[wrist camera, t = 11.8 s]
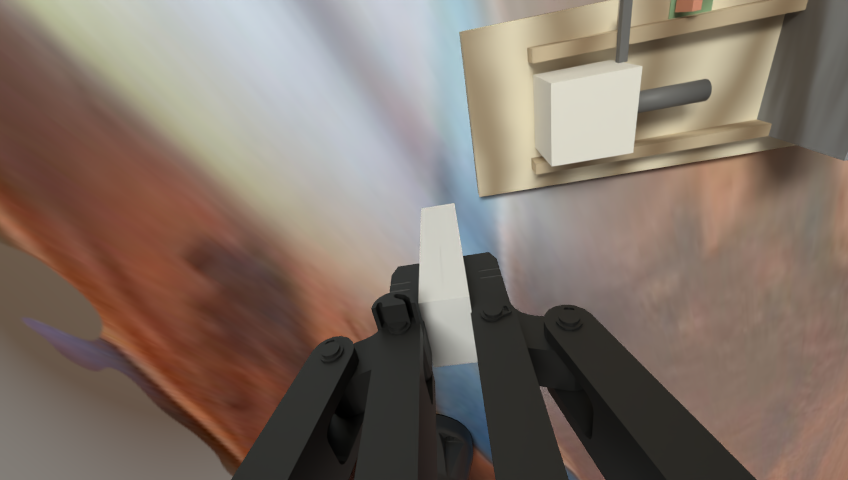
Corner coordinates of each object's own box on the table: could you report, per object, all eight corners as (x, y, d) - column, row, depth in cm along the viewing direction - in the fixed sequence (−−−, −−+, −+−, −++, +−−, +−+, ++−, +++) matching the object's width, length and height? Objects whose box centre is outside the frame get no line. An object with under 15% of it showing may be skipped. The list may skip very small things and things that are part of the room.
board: (478, 192, 36) (492, 239, 28) (459, 31, 29) (470, 34, 21) (784, 141, 33) (896, 178, 25) (845, -50, 26) (1024, -81, 18)
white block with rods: (535, 147, 32) (551, 166, 28) (531, 17, 27) (550, 16, 23) (678, 122, 31) (718, 138, 27) (701, -19, 26) (755, -27, 22)
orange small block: (675, 12, 27) (691, 11, 25) (677, -7, 26) (695, -10, 25) (683, 10, 27) (701, 9, 25) (686, -9, 26) (704, -11, 25)
